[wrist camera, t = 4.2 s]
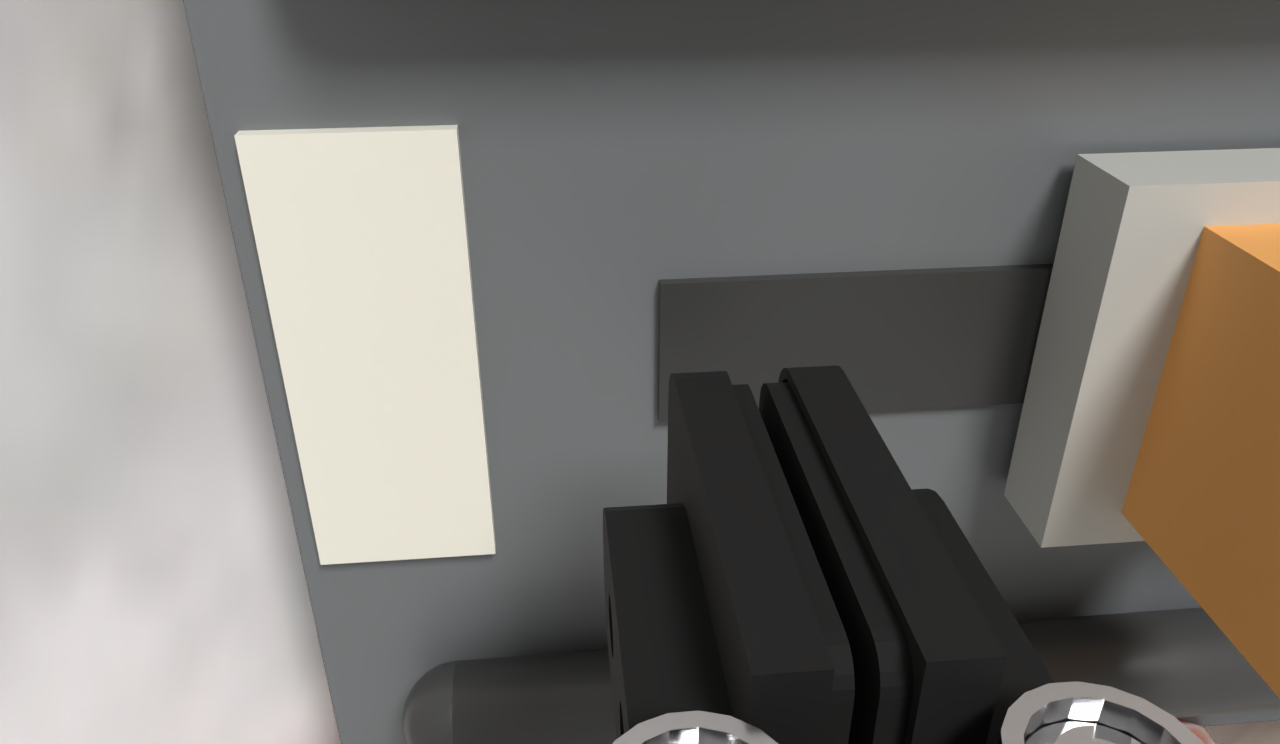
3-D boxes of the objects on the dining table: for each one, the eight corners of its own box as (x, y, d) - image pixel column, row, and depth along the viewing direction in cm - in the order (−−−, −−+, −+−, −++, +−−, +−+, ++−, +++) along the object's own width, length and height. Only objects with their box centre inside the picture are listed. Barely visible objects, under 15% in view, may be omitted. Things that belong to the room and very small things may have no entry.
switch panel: (2114, -361, 13) (2731, -432, 9) (1558, 595, 21) (1774, 758, 17) (177, -391, 11) (3, -495, 7) (372, 681, 19) (334, 886, 15)
